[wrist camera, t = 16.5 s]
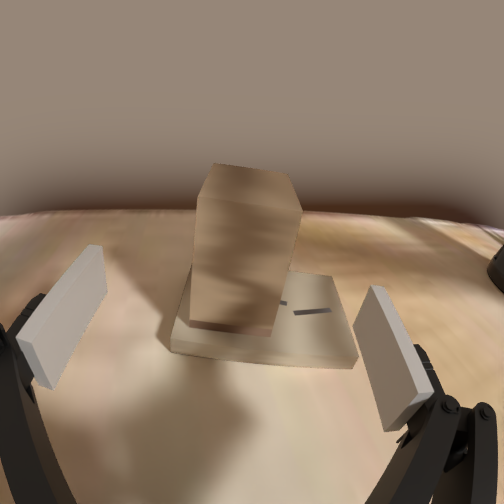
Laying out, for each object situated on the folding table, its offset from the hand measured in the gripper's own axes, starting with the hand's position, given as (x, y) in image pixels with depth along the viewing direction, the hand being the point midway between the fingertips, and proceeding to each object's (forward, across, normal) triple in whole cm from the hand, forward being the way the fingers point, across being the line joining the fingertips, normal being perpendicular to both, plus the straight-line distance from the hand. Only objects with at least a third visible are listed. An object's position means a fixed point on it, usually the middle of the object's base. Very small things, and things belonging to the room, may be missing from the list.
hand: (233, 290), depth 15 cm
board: (+9, +3, -9) cm, 13 cm away
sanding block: (+9, 0, -7) cm, 11 cm away
